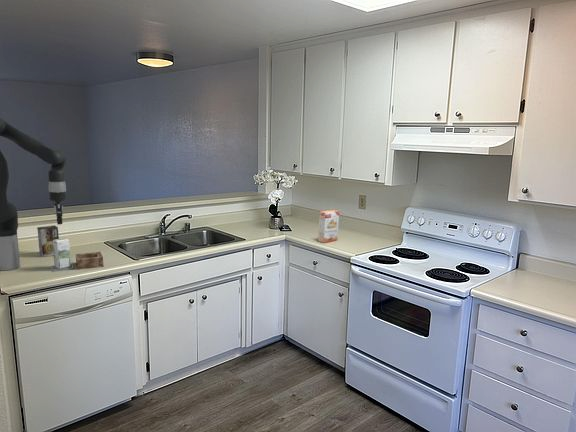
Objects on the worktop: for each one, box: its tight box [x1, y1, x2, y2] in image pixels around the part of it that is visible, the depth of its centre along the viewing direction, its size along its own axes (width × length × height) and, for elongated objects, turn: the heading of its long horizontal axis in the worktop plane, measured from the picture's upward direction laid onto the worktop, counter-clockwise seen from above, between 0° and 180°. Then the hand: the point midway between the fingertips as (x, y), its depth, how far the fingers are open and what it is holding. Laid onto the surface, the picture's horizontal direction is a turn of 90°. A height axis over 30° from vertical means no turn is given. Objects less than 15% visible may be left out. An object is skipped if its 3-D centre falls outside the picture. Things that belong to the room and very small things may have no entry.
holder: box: [75, 251, 104, 270], centre depth 218 cm, size 12×12×5 cm
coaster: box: [52, 263, 74, 273], centre depth 212 cm, size 9×9×1 cm
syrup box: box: [53, 237, 71, 269], centre depth 211 cm, size 6×6×14 cm
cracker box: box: [317, 209, 340, 244], centre depth 283 cm, size 14×6×21 cm, turn 131°
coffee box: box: [36, 224, 60, 258], centre depth 234 cm, size 9×6×16 cm
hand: (59, 222), depth 208 cm, fingers open, 8 cm apart
